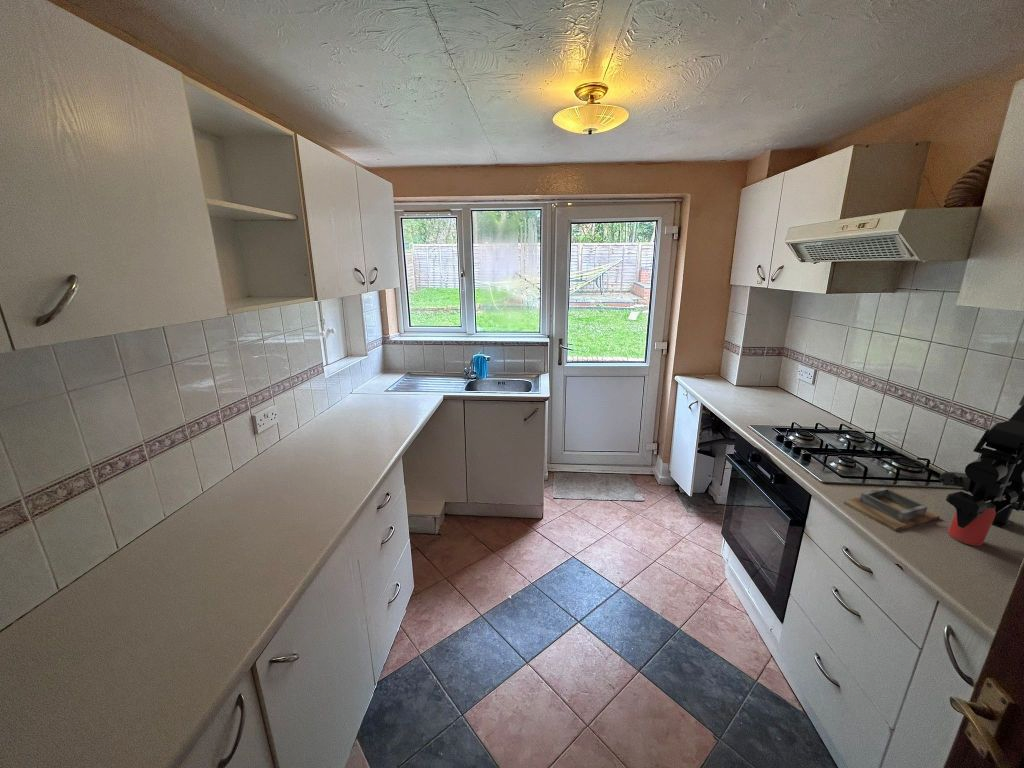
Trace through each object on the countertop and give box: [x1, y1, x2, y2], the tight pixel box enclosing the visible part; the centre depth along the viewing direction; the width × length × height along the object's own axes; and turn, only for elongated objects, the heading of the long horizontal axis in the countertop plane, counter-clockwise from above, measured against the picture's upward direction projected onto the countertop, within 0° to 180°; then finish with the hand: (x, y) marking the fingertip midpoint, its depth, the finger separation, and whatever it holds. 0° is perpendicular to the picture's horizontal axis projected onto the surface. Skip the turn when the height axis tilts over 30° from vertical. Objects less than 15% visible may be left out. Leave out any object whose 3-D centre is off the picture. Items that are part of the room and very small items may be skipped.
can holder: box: [843, 487, 941, 532], centre depth 122 cm, size 20×14×4 cm
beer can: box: [948, 502, 996, 547], centre depth 109 cm, size 7×7×12 cm
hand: (970, 523), depth 109 cm, fingers open, 9 cm apart
